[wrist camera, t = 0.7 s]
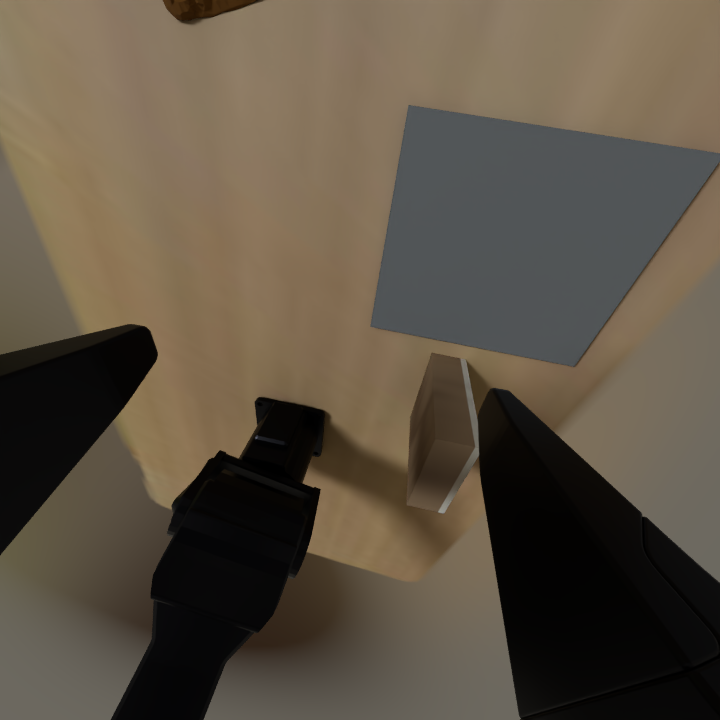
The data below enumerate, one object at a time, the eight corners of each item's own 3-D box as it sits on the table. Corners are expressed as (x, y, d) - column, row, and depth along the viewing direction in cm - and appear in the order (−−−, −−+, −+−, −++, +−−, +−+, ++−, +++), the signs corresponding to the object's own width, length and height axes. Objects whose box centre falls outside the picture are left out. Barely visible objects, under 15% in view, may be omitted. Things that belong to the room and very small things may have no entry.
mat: (571, 362, 21) (574, 366, 21) (371, 323, 22) (370, 326, 21) (716, 153, 14) (724, 154, 13) (409, 106, 15) (408, 104, 14)
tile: (438, 422, 27) (443, 513, 20) (410, 417, 27) (406, 505, 20) (465, 359, 22) (482, 448, 16) (431, 352, 22) (435, 438, 16)
